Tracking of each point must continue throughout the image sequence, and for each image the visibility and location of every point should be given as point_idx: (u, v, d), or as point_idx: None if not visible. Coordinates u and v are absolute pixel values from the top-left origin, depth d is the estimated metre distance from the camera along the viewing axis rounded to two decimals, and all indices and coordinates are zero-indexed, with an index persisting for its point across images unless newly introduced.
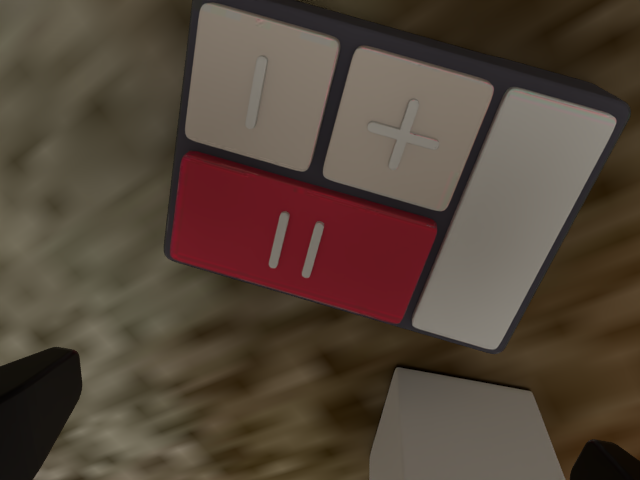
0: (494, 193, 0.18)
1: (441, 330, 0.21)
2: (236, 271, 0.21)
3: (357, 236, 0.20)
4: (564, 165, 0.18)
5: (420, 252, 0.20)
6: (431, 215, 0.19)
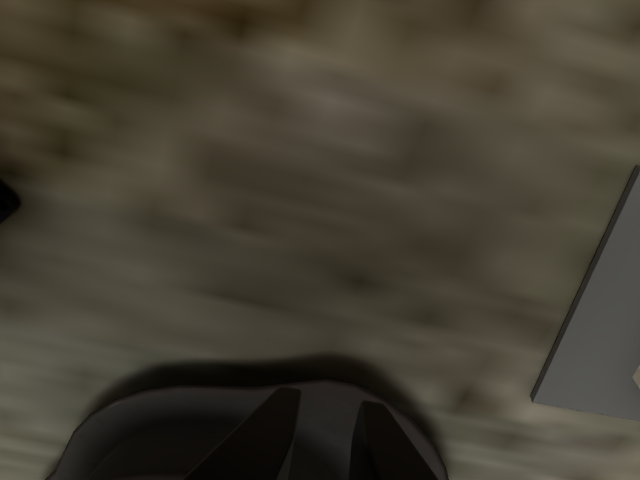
0: None
1: None
2: None
3: None
4: None
5: None
6: None
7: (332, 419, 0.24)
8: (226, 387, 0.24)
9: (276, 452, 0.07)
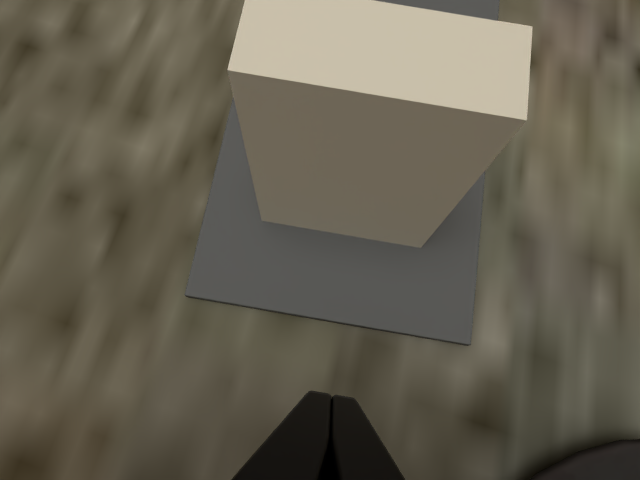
0: None
1: None
2: None
3: None
4: None
5: None
6: None
7: None
8: None
9: (314, 459, 0.07)
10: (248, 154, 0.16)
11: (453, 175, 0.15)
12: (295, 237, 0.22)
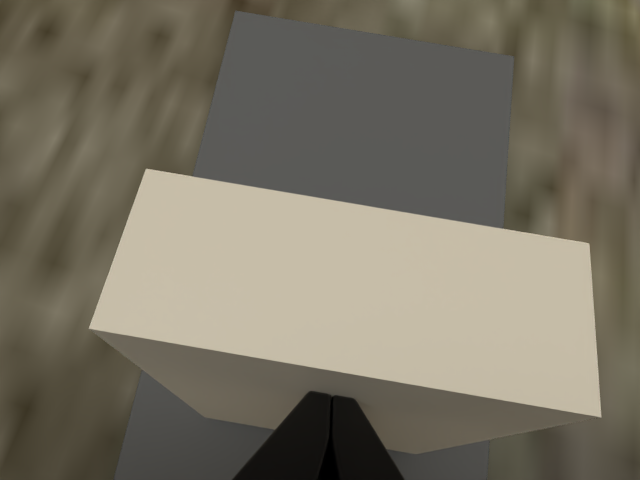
0: None
1: None
2: None
3: None
4: None
5: None
6: None
7: None
8: None
9: (314, 458, 0.07)
10: (163, 384, 0.11)
11: (467, 430, 0.10)
12: (249, 441, 0.17)
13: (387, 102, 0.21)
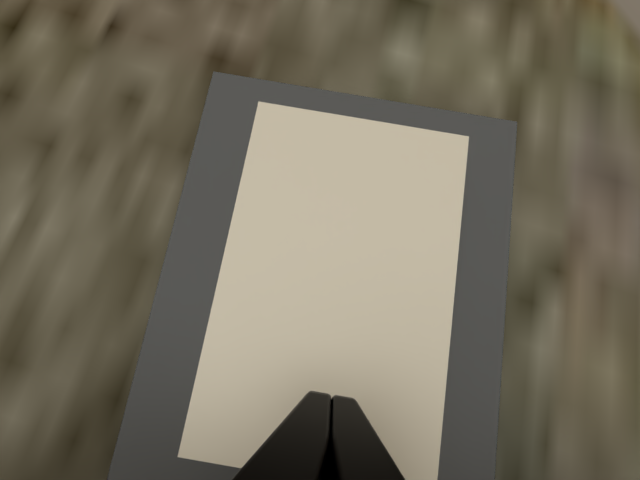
0: None
1: None
2: None
3: None
4: None
5: None
6: None
7: None
8: None
9: (314, 458, 0.07)
10: (231, 227, 0.16)
11: (437, 232, 0.16)
12: None
13: None
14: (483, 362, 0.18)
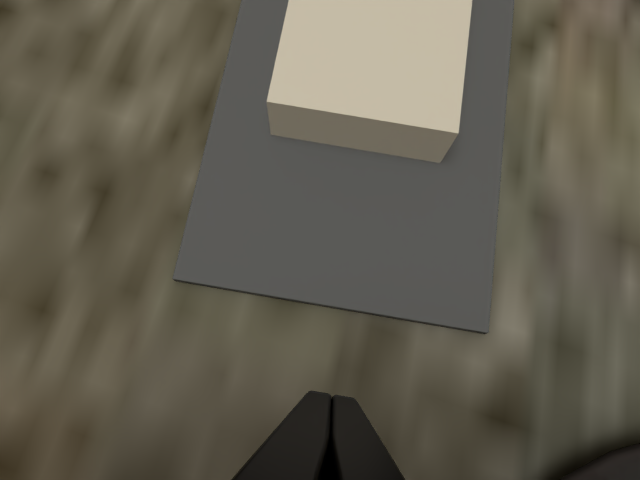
0: None
1: None
2: None
3: None
4: None
5: None
6: None
7: None
8: None
9: (314, 459, 0.07)
10: None
11: None
12: (294, 215, 0.20)
13: None
14: (493, 82, 0.22)
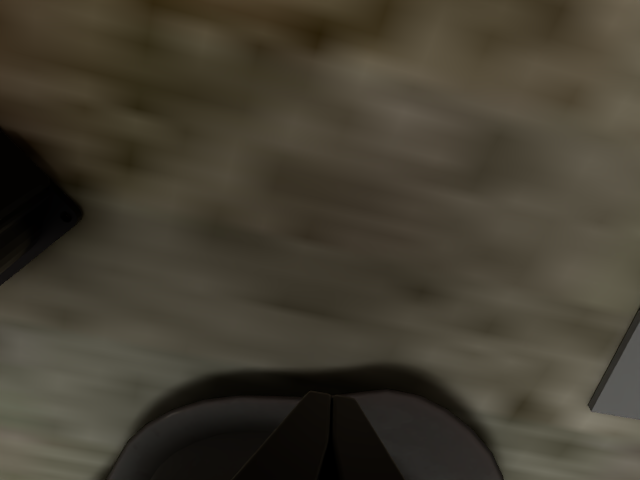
0: None
1: None
2: None
3: None
4: None
5: None
6: None
7: (392, 429, 0.24)
8: (286, 397, 0.24)
9: (314, 459, 0.07)
10: None
11: None
12: None
13: None
14: None
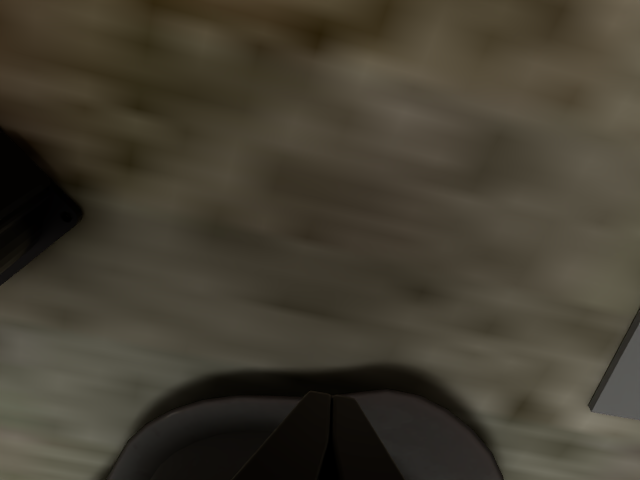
0: None
1: None
2: None
3: None
4: None
5: None
6: None
7: (392, 429, 0.24)
8: (286, 397, 0.24)
9: (314, 459, 0.07)
10: None
11: None
12: None
13: None
14: None
